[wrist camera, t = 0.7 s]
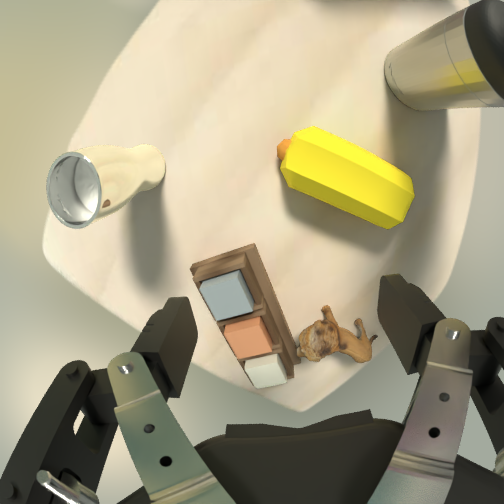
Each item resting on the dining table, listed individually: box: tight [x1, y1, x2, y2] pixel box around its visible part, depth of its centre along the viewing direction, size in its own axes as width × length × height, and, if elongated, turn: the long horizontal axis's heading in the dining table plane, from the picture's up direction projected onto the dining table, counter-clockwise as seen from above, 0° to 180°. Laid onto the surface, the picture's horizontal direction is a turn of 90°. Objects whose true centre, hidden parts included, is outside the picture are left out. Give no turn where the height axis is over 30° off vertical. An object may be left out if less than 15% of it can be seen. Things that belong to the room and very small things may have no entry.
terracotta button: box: [224, 316, 272, 359], centre depth 36 cm, size 5×5×3 cm
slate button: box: [199, 269, 254, 321], centre depth 33 cm, size 5×5×3 cm
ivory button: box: [245, 353, 287, 389], centre depth 38 cm, size 5×5×3 cm
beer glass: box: [46, 144, 165, 229], centre depth 25 cm, size 7×7×15 cm
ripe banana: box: [277, 126, 415, 229], centre depth 28 cm, size 18×7×8 cm
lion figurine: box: [297, 305, 378, 363], centre depth 35 cm, size 15×5×9 cm, turn 71°
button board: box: [190, 243, 301, 386], centre depth 38 cm, size 9×21×4 cm, turn 21°
